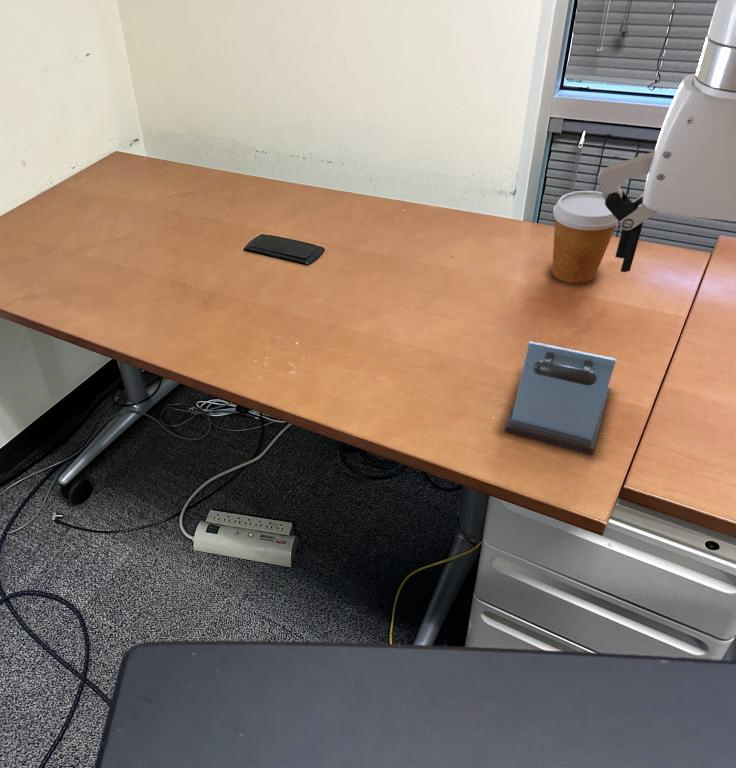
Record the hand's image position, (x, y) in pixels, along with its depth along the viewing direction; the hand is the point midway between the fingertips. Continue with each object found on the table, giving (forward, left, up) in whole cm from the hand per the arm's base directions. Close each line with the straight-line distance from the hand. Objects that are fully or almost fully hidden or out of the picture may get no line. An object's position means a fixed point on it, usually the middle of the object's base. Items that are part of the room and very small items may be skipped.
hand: (689, 273), depth 59 cm
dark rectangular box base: (+8, -10, -28) cm, 31 cm away
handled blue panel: (+8, -6, -21) cm, 23 cm away
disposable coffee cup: (+12, -44, -28) cm, 54 cm away
